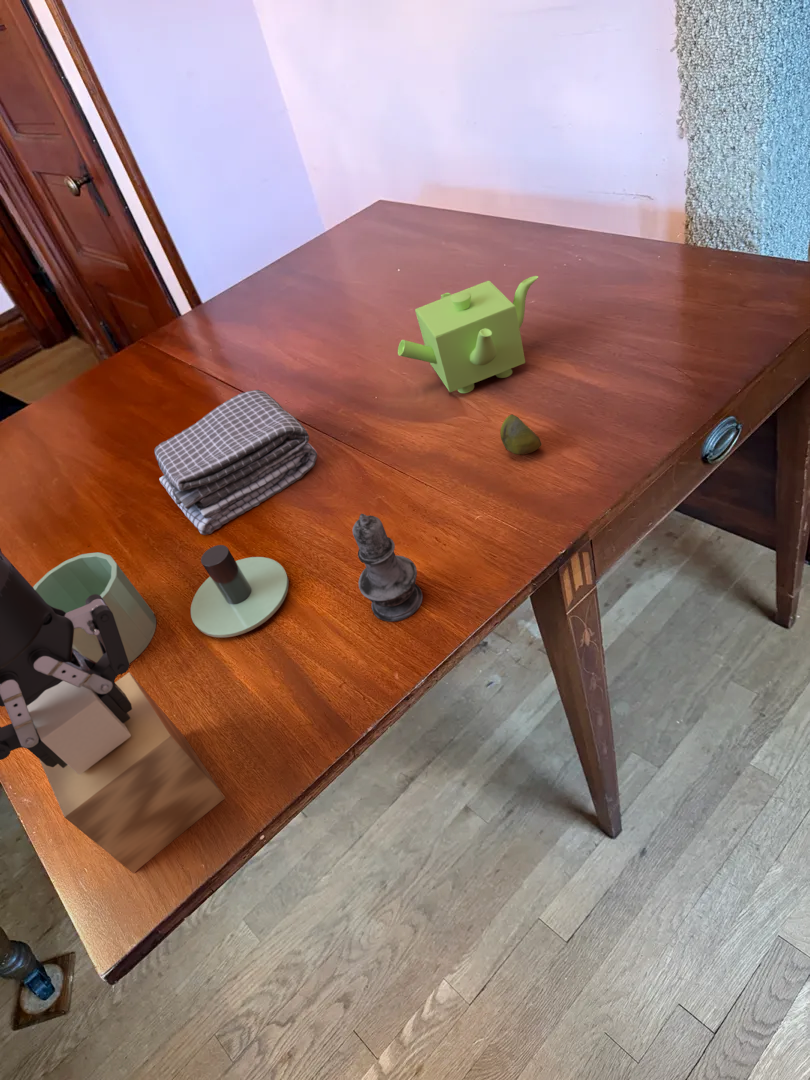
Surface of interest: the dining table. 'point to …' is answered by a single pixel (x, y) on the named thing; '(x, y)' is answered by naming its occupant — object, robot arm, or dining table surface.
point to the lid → (237, 593)
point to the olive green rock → (518, 436)
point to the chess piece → (385, 573)
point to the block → (76, 725)
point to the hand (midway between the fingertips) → (94, 735)
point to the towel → (234, 459)
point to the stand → (138, 786)
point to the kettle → (471, 335)
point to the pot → (106, 579)
